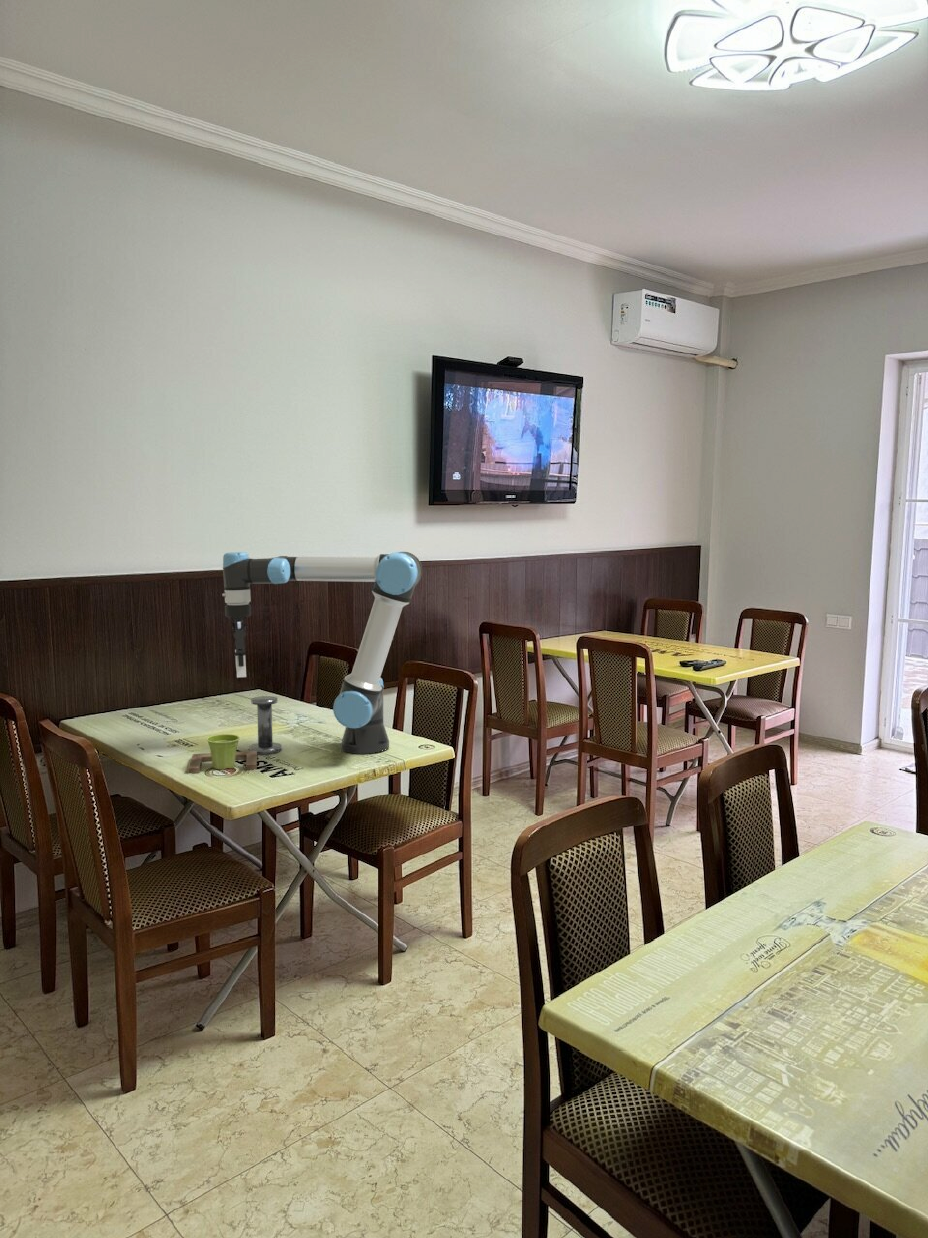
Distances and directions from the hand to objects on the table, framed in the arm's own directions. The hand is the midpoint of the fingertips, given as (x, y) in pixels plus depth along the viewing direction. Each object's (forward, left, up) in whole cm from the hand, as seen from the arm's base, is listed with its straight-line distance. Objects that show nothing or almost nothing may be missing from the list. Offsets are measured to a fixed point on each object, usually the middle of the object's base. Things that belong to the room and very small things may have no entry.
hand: (241, 673), depth 269 cm
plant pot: (+5, +11, -26) cm, 29 cm away
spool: (-7, -5, -26) cm, 27 cm away
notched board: (+5, +8, -26) cm, 27 cm away
